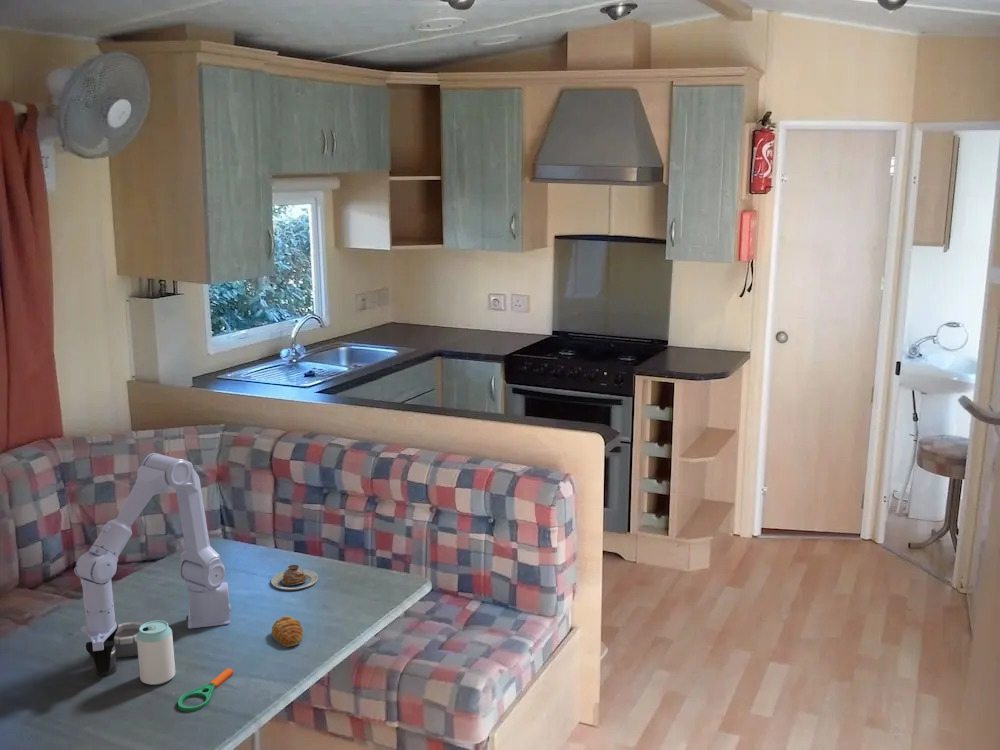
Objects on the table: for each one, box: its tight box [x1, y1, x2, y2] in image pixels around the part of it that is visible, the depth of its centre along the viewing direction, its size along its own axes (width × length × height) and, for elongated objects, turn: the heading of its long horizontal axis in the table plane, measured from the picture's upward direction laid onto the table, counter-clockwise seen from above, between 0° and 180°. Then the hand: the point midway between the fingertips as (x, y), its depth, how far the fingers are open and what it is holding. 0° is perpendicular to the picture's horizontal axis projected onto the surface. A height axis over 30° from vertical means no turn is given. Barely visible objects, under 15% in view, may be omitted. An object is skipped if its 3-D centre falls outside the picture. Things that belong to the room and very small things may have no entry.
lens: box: [92, 644, 118, 678], centre depth 207 cm, size 5×5×6 cm
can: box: [137, 620, 176, 686], centre depth 204 cm, size 7×7×12 cm
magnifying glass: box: [177, 668, 234, 713], centre depth 200 cm, size 15×6×2 cm, turn 159°
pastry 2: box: [270, 564, 319, 592], centre depth 251 cm, size 12×12×5 cm
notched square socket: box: [114, 621, 144, 659], centre depth 218 cm, size 10×8×4 cm
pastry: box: [271, 616, 304, 648], centre depth 222 cm, size 9×7×4 cm
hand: (105, 665), depth 208 cm, fingers closed on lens, 5 cm apart
